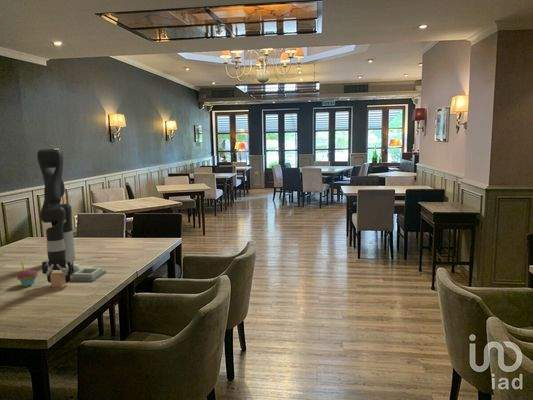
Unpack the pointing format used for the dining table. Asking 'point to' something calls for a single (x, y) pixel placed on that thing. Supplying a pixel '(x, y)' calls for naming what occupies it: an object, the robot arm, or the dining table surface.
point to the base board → (85, 274)
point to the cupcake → (27, 276)
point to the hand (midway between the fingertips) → (59, 282)
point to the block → (58, 279)
